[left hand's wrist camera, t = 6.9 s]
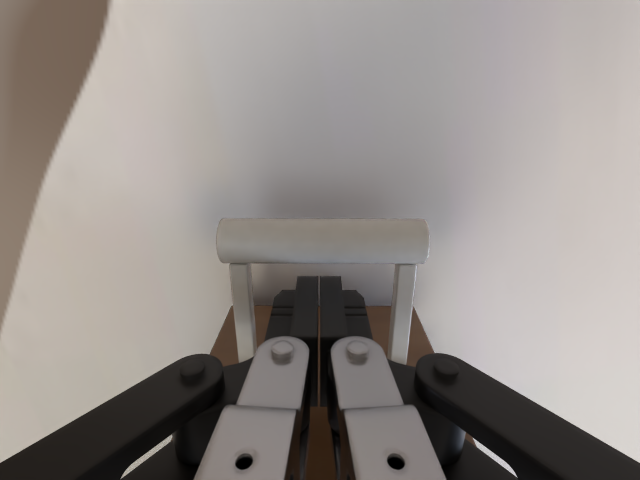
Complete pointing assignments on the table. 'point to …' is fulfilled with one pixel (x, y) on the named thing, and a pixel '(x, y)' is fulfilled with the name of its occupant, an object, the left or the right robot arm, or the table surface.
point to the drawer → (319, 247)
